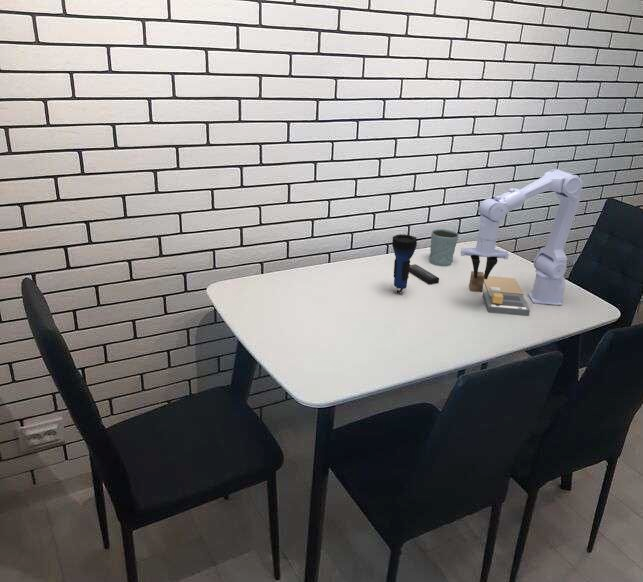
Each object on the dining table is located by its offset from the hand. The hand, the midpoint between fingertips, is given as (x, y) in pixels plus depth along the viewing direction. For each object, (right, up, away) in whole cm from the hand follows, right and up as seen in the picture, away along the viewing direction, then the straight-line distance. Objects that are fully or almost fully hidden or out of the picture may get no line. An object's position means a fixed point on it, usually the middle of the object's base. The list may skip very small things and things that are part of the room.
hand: (480, 277), depth 185 cm
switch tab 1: (+7, -6, +7) cm, 11 cm away
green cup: (-4, +7, +40) cm, 41 cm away
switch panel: (+10, -9, +6) cm, 15 cm away
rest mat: (+13, -2, +21) cm, 25 cm away
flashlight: (-25, -5, +11) cm, 28 cm away
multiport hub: (-14, 0, +26) cm, 30 cm away
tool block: (+3, -4, +17) cm, 18 cm away
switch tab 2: (+6, -8, +3) cm, 10 cm away
